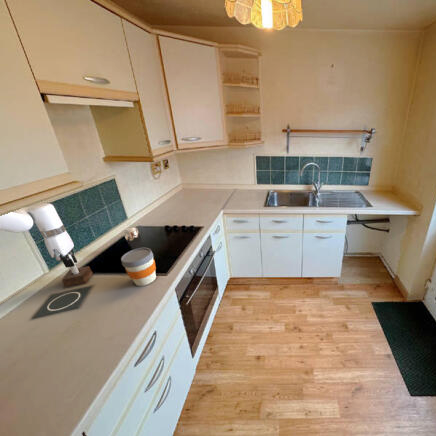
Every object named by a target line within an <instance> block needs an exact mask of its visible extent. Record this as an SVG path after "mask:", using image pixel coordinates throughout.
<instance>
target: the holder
mask: <svg viewBox="0 0 436 436" xmlns="http://www.w3.org/2000/svg"><path fill="white" fill-rule="evenodd" d="M77 269H78V271H79V273H78V274H74V275H73V273H72V271H71V269H69V270H68V271H67V272H66V273H65V275H64V276H63V277H62V278H61V282H62V284H63V285H64V288H70V287H73V286H80V285H84V284H87V283H88V281H89V280H90V279H91V277H92V275H93V271H92V269H91V268H90V265H87V266H82V267H81V266H80V267H77Z"/></svg>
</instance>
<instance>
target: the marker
mask: <svg viewBox="0 0 436 436" xmlns="http://www.w3.org/2000/svg"><path fill="white" fill-rule="evenodd" d="M68 256H69V258H70V259H72V257H71V255H70V254H68ZM63 257H65V256H63ZM72 261H73V259H72ZM73 263H74V261H73ZM77 268H78V267H77V264H76V263H74V266H72V267H69V270H71V271H72V273H73V275H74V274H78V273H79V271H78V269H77Z"/></svg>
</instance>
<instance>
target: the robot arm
mask: <svg viewBox="0 0 436 436" xmlns="http://www.w3.org/2000/svg"><path fill="white" fill-rule="evenodd" d="M20 208H21V209H19V210H16V211H14V212H10V213H8V214H5V215H2V216H0V231H5V232H9V233H25V232H27V231H30V230H31V229H32V228H33V226H34V223H35V225H36V227H37V228H38V230H39V232H40V234H41V236H42V237H43V241H44V244H45V247H46V249H47V251H48V253H49V256H50V257H51V258H52V259H56V261H57V262H59V261H61V262H62V263H63V265H64V267H65V268H66V269H67V268H70V267H72V266H74V263H75V264H77V263H78V259H77V258H76V256H75V252H74V247H75V244H74V241H73V239H72V238H71V235H70V234H69V233H68V232H67V229H66V227H65V226H64V223H63V222H62V220H61V218H60V216H59V214H58V212H57V210H56V208H55V207H54V205H53V204H52V203H49V202H48V203H45V202H43V203H39V204H35V205H33V206H25V207H20ZM68 254H70V255H71V257H72V259H73V261H74V263H73V261H72V259H70V258H69V256H68ZM64 256H65V257H64Z"/></svg>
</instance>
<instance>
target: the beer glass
mask: <svg viewBox="0 0 436 436" xmlns="http://www.w3.org/2000/svg"><path fill="white" fill-rule="evenodd" d="M123 235H124V238H125V240H126V242H127V244H128V246H129V247H130V249H131V250H134V249H138V248H144V247H143V244H142V238H141V234H140V231H139V229H138V227H133V226H132V227H128V228H126V229H124V230H123Z"/></svg>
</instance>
